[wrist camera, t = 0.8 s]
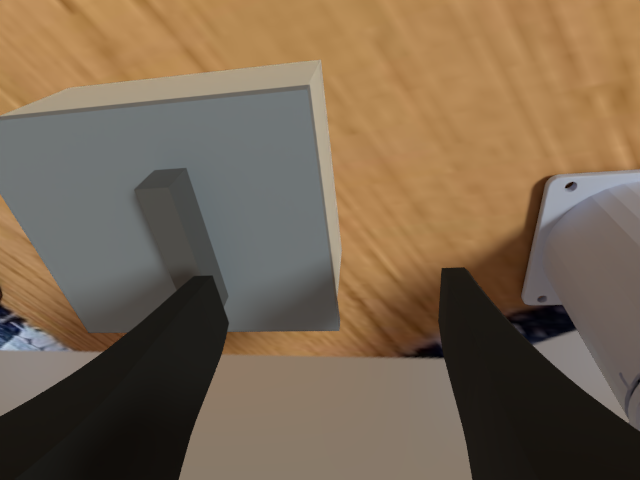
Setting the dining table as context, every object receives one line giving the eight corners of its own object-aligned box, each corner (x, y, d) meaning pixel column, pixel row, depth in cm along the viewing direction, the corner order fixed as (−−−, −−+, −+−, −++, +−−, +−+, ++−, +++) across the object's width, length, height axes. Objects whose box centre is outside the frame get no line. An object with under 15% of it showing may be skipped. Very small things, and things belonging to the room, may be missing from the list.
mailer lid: (309, 84, 12) (299, 103, 11) (340, 321, 18) (337, 357, 16) (-30, 119, 14) (-84, 140, 13) (95, 323, 20) (69, 357, 18)
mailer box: (320, 59, 17) (305, 89, 13) (341, 249, 22) (335, 313, 18) (69, 87, 19) (-15, 121, 15) (145, 257, 24) (100, 316, 20)
